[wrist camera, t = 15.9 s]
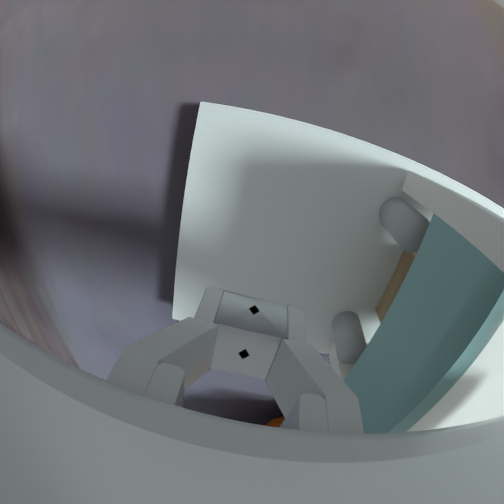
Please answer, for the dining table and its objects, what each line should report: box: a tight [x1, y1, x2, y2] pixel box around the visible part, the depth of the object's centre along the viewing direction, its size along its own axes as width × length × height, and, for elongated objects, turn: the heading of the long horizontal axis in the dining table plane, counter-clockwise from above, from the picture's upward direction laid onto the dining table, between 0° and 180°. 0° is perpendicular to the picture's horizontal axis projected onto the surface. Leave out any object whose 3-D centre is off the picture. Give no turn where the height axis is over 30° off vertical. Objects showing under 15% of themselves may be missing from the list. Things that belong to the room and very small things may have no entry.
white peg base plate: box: [172, 102, 504, 364], centre depth 13 cm, size 18×12×4 cm, turn 78°
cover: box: [329, 170, 504, 433], centre depth 10 cm, size 8×11×8 cm
